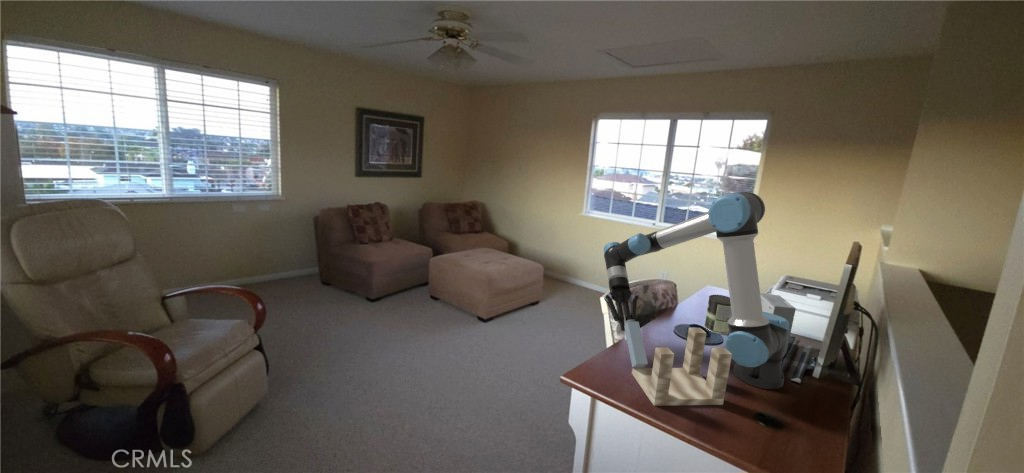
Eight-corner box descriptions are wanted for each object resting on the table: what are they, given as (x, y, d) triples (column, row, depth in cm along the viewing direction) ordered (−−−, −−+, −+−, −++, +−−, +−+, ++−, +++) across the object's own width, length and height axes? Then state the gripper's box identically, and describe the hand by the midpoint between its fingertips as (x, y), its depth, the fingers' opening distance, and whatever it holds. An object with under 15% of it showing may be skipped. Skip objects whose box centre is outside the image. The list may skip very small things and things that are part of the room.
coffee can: (700, 328, 183) (705, 298, 180) (709, 322, 190) (714, 292, 187) (725, 336, 176) (731, 305, 173) (733, 329, 184) (738, 299, 180)
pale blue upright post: (643, 367, 144) (634, 323, 153) (647, 363, 141) (638, 318, 150) (632, 367, 144) (623, 323, 153) (636, 363, 140) (627, 318, 149)
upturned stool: (692, 372, 146) (700, 327, 143) (722, 404, 129) (732, 354, 125) (631, 373, 144) (637, 327, 140) (654, 405, 127) (661, 354, 123)
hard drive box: (786, 357, 161) (796, 308, 157) (764, 354, 162) (774, 306, 158) (770, 339, 176) (779, 294, 171) (750, 337, 177) (759, 292, 173)
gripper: (631, 284, 167) (642, 342, 155) (599, 283, 166) (607, 342, 154) (637, 276, 161) (649, 336, 149) (604, 275, 160) (614, 336, 147)
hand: (628, 339), depth 151 cm, fingers closed
